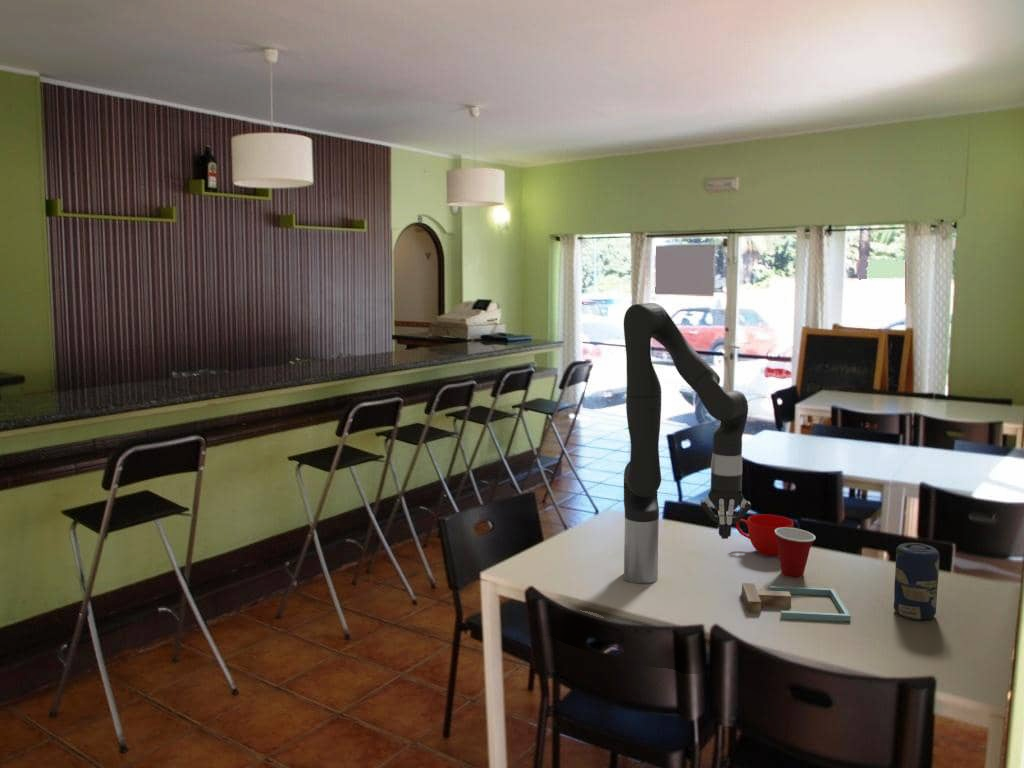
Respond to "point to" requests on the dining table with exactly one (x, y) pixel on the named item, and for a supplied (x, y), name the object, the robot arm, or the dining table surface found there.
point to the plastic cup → (793, 550)
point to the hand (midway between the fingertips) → (724, 537)
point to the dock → (814, 615)
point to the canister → (916, 580)
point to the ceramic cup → (764, 532)
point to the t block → (763, 598)
